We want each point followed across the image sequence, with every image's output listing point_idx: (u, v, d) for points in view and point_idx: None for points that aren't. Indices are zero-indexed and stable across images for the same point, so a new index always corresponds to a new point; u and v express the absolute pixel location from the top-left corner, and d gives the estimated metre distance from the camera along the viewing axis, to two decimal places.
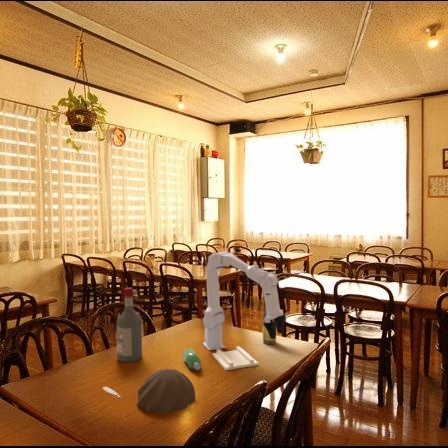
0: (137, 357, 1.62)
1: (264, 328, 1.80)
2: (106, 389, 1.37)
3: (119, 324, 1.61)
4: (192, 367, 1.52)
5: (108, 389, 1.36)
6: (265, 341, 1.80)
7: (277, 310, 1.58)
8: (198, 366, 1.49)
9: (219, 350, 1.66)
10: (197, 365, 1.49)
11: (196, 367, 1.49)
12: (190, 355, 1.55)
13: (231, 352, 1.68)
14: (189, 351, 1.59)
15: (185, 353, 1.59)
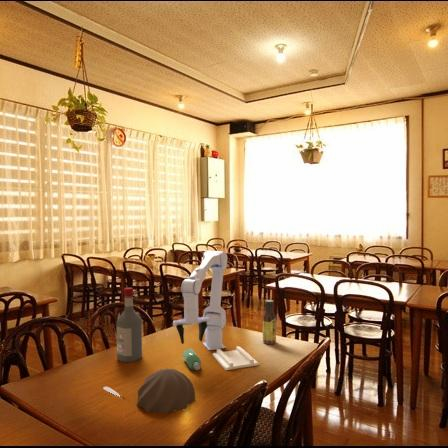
0: (137, 357, 1.62)
1: (264, 328, 1.80)
2: (106, 388, 1.37)
3: (119, 324, 1.61)
4: (192, 367, 1.52)
5: (108, 389, 1.36)
6: (265, 341, 1.80)
7: (189, 317, 1.54)
8: (198, 366, 1.49)
9: (219, 350, 1.66)
10: (197, 365, 1.49)
11: (196, 367, 1.49)
12: (190, 355, 1.55)
13: (231, 352, 1.68)
14: (189, 351, 1.59)
15: (186, 353, 1.59)
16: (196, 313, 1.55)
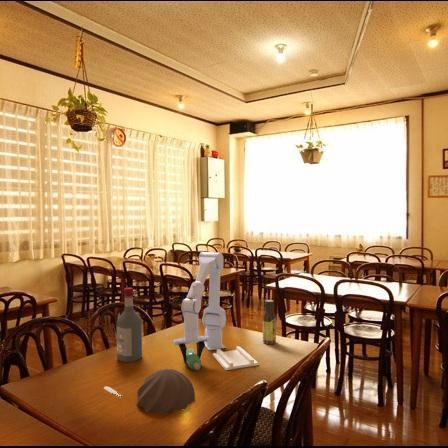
0: (137, 357, 1.62)
1: (264, 328, 1.80)
2: (107, 388, 1.37)
3: (119, 324, 1.61)
4: (192, 367, 1.52)
5: (109, 389, 1.36)
6: (265, 341, 1.80)
7: (190, 336, 1.54)
8: (198, 366, 1.49)
9: (219, 350, 1.66)
10: (197, 365, 1.49)
11: (196, 367, 1.49)
12: (190, 355, 1.55)
13: (231, 352, 1.68)
14: (189, 351, 1.59)
15: (186, 353, 1.59)
16: (196, 332, 1.55)
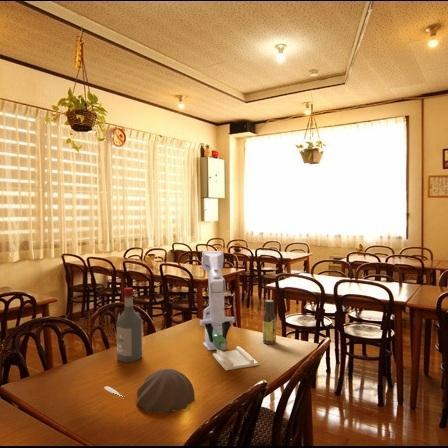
0: (137, 357, 1.62)
1: (264, 328, 1.80)
2: (107, 388, 1.37)
3: (119, 324, 1.61)
4: (218, 347, 1.54)
5: (109, 388, 1.37)
6: (265, 341, 1.80)
7: (216, 316, 1.56)
8: (225, 346, 1.51)
9: (219, 350, 1.66)
10: (224, 345, 1.51)
11: (223, 347, 1.51)
12: (216, 336, 1.57)
13: (231, 352, 1.68)
14: (215, 332, 1.61)
15: None
16: (222, 312, 1.57)
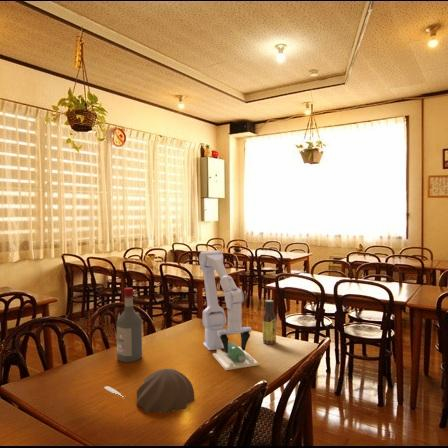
0: (137, 357, 1.62)
1: (264, 328, 1.80)
2: (107, 388, 1.37)
3: (119, 324, 1.61)
4: (236, 359, 1.56)
5: (110, 388, 1.37)
6: (265, 341, 1.80)
7: (233, 327, 1.58)
8: (243, 359, 1.53)
9: (219, 350, 1.66)
10: (242, 358, 1.53)
11: (241, 359, 1.53)
12: (234, 348, 1.59)
13: None
14: (233, 344, 1.63)
15: (229, 346, 1.63)
16: (240, 323, 1.59)
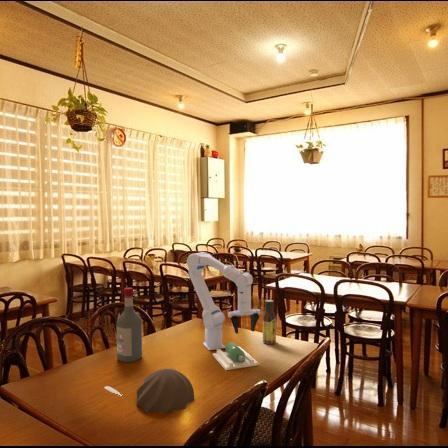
0: (137, 357, 1.62)
1: (264, 328, 1.80)
2: (107, 388, 1.37)
3: (119, 324, 1.61)
4: (236, 359, 1.56)
5: (110, 388, 1.37)
6: (265, 341, 1.80)
7: (243, 309, 1.66)
8: (243, 359, 1.53)
9: (219, 350, 1.66)
10: (242, 358, 1.53)
11: (241, 359, 1.53)
12: (234, 348, 1.59)
13: None
14: (233, 344, 1.63)
15: (229, 346, 1.63)
16: (249, 305, 1.67)
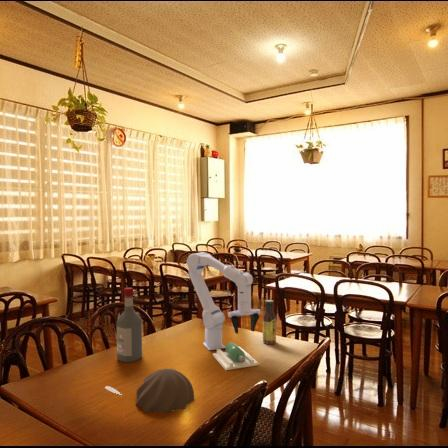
0: (137, 357, 1.62)
1: (264, 328, 1.80)
2: (108, 388, 1.37)
3: (119, 324, 1.61)
4: (236, 359, 1.56)
5: (110, 388, 1.37)
6: (265, 341, 1.80)
7: (244, 309, 1.66)
8: (243, 359, 1.53)
9: (219, 350, 1.66)
10: (242, 358, 1.53)
11: (241, 359, 1.53)
12: (234, 348, 1.59)
13: None
14: (233, 344, 1.63)
15: (229, 346, 1.63)
16: (249, 305, 1.67)
